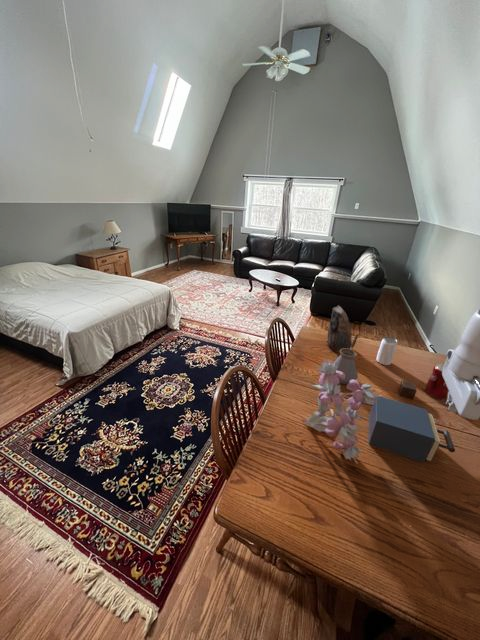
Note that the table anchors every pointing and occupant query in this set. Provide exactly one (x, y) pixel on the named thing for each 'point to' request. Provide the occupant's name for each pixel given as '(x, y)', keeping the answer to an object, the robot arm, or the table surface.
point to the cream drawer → (438, 440)
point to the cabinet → (400, 428)
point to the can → (387, 351)
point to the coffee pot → (347, 363)
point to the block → (407, 389)
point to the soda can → (437, 383)
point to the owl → (339, 330)
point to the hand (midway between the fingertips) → (450, 408)
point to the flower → (339, 408)
